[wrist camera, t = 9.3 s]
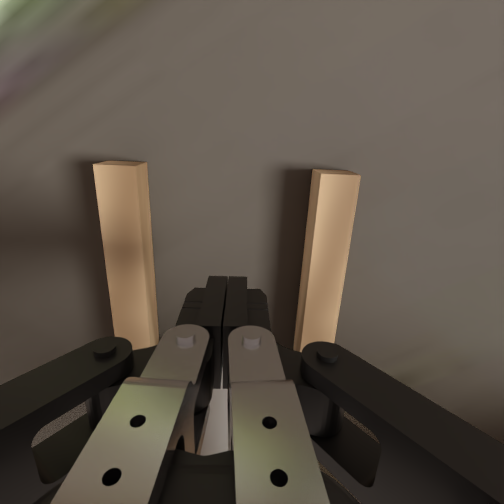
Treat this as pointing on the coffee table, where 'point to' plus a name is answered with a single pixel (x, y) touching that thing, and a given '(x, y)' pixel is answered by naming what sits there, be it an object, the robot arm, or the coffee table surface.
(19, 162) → the coffee table surface
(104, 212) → the beam channel
